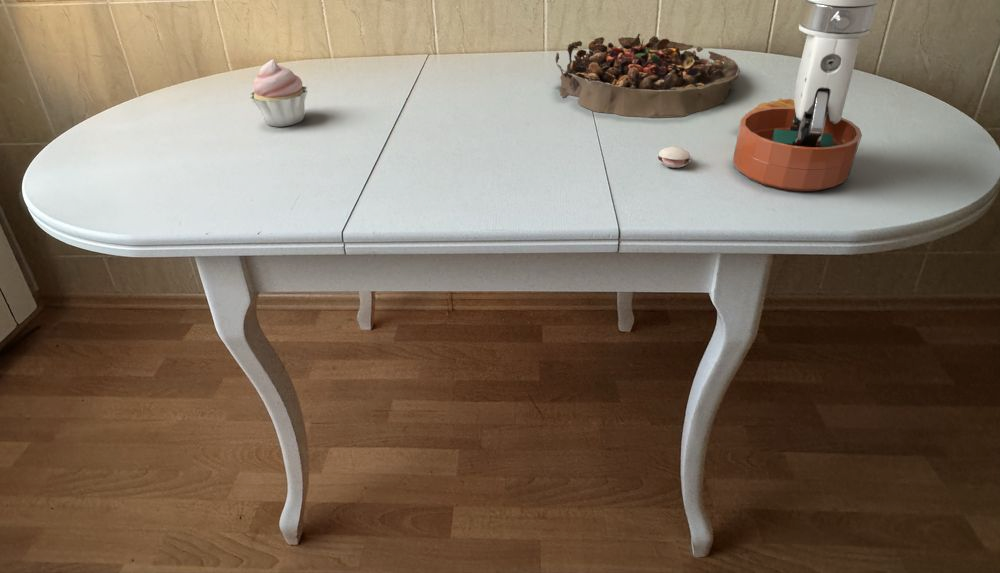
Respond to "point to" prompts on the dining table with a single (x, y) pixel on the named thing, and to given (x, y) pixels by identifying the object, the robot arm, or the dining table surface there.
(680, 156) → the macaroon
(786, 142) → the sponge
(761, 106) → the pastry
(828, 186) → the bowl
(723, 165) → the dining table surface
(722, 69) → the food dish
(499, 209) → the dining table surface
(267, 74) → the cupcake
